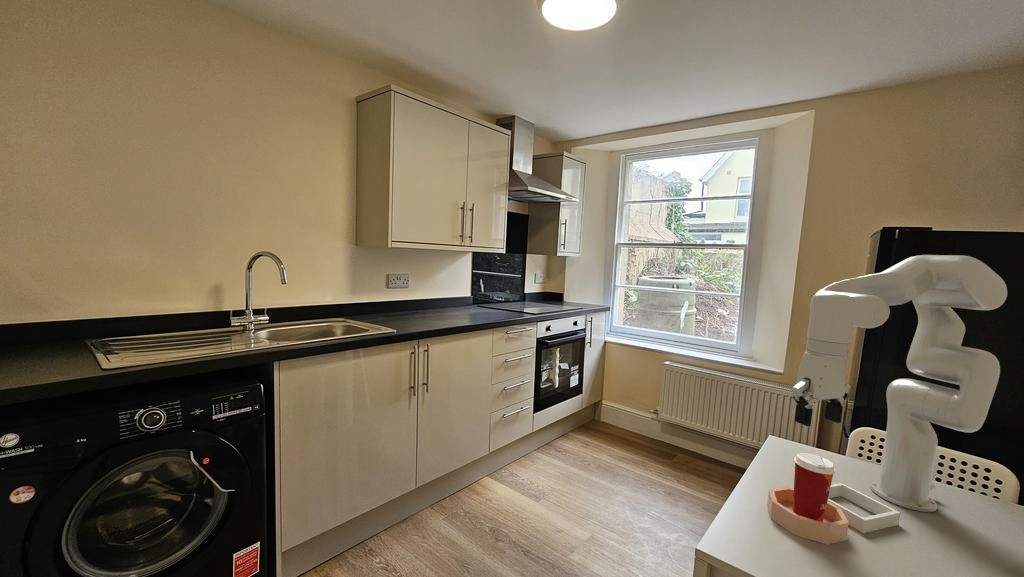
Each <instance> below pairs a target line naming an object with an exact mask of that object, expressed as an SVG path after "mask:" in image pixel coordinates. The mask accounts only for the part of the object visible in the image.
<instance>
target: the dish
mask: <svg viewBox="0 0 1024 577" xmlns="http://www.w3.org/2000/svg"><path fill="white" fill-rule="evenodd" d="M793 494H794V487H789V486H781V487H774V488H770V489H768V494H767V504H766V506H767V509H768V514H769V518H770V519H771V520H772V521H774V522H775V523H777V524H778V525H780V526H781V527H783V528H784V529H786V531H789V532H790V533H792V534H793V535H795V536H798V537H801V538H803V539H804V538H805V539H808V540H810V541H815V542H817V543H818V542H819V543H821V544H825V545H831V544H837V543H840V542H844V541H845V542H846V541H847V538H848V532H849V530H848V529H849V525H848V524H849V522H848V521H847V519H846V517H845V515H844V513H843V512H842V510H841V508H839V507H837V506H835V505H834V504H832V503H830V502H828V501H827V506H826V511H825V515H824V519H823V522H820V521H816V520H813V519H809V518H806V517H802V516H799V515H797V514H796V513H794V512H793Z"/></svg>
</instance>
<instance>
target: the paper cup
mask: <svg viewBox="0 0 1024 577" xmlns="http://www.w3.org/2000/svg"><path fill="white" fill-rule="evenodd" d="M793 461H794V463H795V464H794V475H793V476H794V480H793V488H794V494H793V512H794V513H796V514H797V515H799V516H802V517H806V518H809V519H813V520H816V521H820V522H823V519H824V515H825V511H826V506H827V501H828V499H829V498H828V497H829V492H830V487H831V485H832V481H833V477H834V474H836V469H835V466H834V464H833V462H832V461H830V460H829V459H827V458H824V457H822V456H819V455H817V454H812V453H808V452H799V453H797V454H796V456H795V457H794V458H793Z"/></svg>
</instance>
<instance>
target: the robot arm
mask: <svg viewBox="0 0 1024 577" xmlns="http://www.w3.org/2000/svg"><path fill="white" fill-rule="evenodd" d="M1007 297H1008V288H1007V284H1006V283H1005V281H1004V279H1003V278H1002V277H1001V276H1000V275H999V274H997V272H995V271H994V269H992V268H991V267H990V266H988V265H987V264H986V263H984V262H983V261H982V260H979V259H977V258H975V257H973V256H970V255H962V254H961V255H958V254H957V255H956V254H955V255H954V254H953V255H952V254H950V255H949V254H948V255H947V254H946V255H943V254H942V255H940V254H921V255H915V256H909V257H908V258H905V259H903V260H902V261H900V262H898V263H896V264H894V265H892V266H891V267H889V268H887V269H885V270H883V271H881V272H877V273H872V274H866V275H863V276H858V277H852V278H848V279H844V280H840V281H836V282H833V283H831V284H829V285H827V286H825V287H823V288H822V289H820V290H818V291H817V292H815V293H814V295H813V296H812V297H811V300H810V302H809V320H808V326H807V327H808V328H807V336H806V345H805V351H804V352H803V354H802V357H801V360H800V363H799V367H798V372H797V378H796V380H795V381H796V382H795V385H794V386H792V388H791V391H792V395H793V397H792V399H793V400H794V404H795V406H796V408H795V415H794V422H795V423H798V424H800V425H803V426H806V427H811V426H812V420H813V418H812V417H813V410H814V409H813V408H811V407H812V406H813V405H814V403H815V401H825V400H826V403H825V409H824V410H825V411H824V418H825V419H826V420H829V421H832V422H834V423H837V424H840V423H842V418H843V409H844V406H845V405H846V399H847V398H848V394H849V392H850V390H851V387H852V386H851V384H849V383H848V358H849V353H850V345H851V337H852V336H851V335H852V327H856V328H863V329H873V328H874V329H875V328H877V327H879V326H882V325H883V324H884V323H886V322H887V320H888V319H889V316H890V314H891V313H890V311H891V310H890V306H898V305H905V304H906V303H908V302H910V301H912V304H913V306H914V308H915V310H916V314H917V320H918V321H917V322H918V323H917V327H916V331H915V333H914V336H913V340H912V342H911V345H910V348H909V350H908V353H907V358H906V367H907V368H906V369H908V371H909V372H911V373H912V374H915V375H917V376H920V377H924V378H927V379H928V378H929V379H933V380H936V381H940V382H945V383H949V384H954V385H958V386H959V389H956V388H951V387H947V386H942V385H939V384H935V383H931V382H927V381H923V380H918V379H914V378H897V379H895V380H893V381H891V382H890V383H889V384H888V386H887V389H886V404H887V422H886V431H885V438H884V443H883V444H884V445H883V450H882V451H883V452H882V458H881V466H880V472H879V480H873V481H871V482H870V487H869V488H870V489H871V491H872V492H874V494H876V495H877V496H879V497H880V498H882V499H884V500H885V501H887V502H891V503H893V504H895V505H896V506H900V507H902V508H905V509H909V510H912V511H917V512H922V513H932V512H933V513H934V512H936V511H937V509H938V505H937V504H938V503H936V502H935V500H934V499H932V498H931V497H930V496H931V495H930V494H931V491H935V489H936V485H935V484H934V483H933V482H932V481H933V474H934V468H935V461H936V454H937V448H938V444H939V442H938V437H937V433H936V431H935V430H934V428H933V426H932V424H931V423H933V424H935V425H939V426H942V427H944V428H948V429H952V430H955V431H957V432H963V433H974V432H977V431H979V430H980V429H981V428H982V427H983V425H984V423H985V420H986V418H987V416H988V412H989V410H990V406H991V404H992V401H993V398H994V394H995V392H996V389H997V386H998V383H999V378H1000V375H1001V365H1000V361H999V360H998V358H997V357H996V355H994V354H993V353H991V352H989V351H986V350H983V349H979V348H974V347H967V346H962V344H963V339H964V336H965V333H966V326H965V323H964V321H963V320H962V319H961V317H959V315H958V314H957V312H955V311H954V309H952V308H957V309H965V310H966V309H967V310H974V311H975V310H976V311H991V310H995V309H998V308H1000V307H1001V306H1003V304H1004V303H1005V301H1006V300H1007ZM806 398H807V399H808V400H806ZM827 400H828V401H827Z"/></svg>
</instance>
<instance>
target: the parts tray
mask: <svg viewBox="0 0 1024 577" xmlns="http://www.w3.org/2000/svg"><path fill="white" fill-rule="evenodd" d="M837 497H843V498H844V499H846V500H847V501H850V502H852V503H853V504H855V505H857V506H859V507H861V508H863V509H865V510H867V511H869V512H871V513H872V514H874V515H869V516H865V517H863V516H861V515H860V514H857V513H855V512H854V511H852V510H851V509H849V508H847V507H845V506H843V505H841V504H839V503H838V502H836V501H834V500H832V498H837ZM828 502H830V503H832V504H834V505H835V506H837V507H839V508H841V510H842V512H843V513H844V515H845V517H846V519H847V521H848V522H849V524H848V526H850V527H852V528H853V529H855V530H857V531H859V532H861V533H862V534H866V533H869V532H874V531H877V530H883V529H887V528H890V527H894V526H899V524H900V518H901V512H900V511H898V510H896V509H894V508H892V507H890V506H888V505H886V504H885V503H882V502H880V501H878V500H876V499H874V498H872V497H871V496H868V495H866V494H864V493H862V492H860V491H858V490H856V489H854V488H852V487H850V486H848V485H846V484H844V483H843V482H839V483H834V484H832V483H831V487H830V492H829V497H828Z"/></svg>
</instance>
